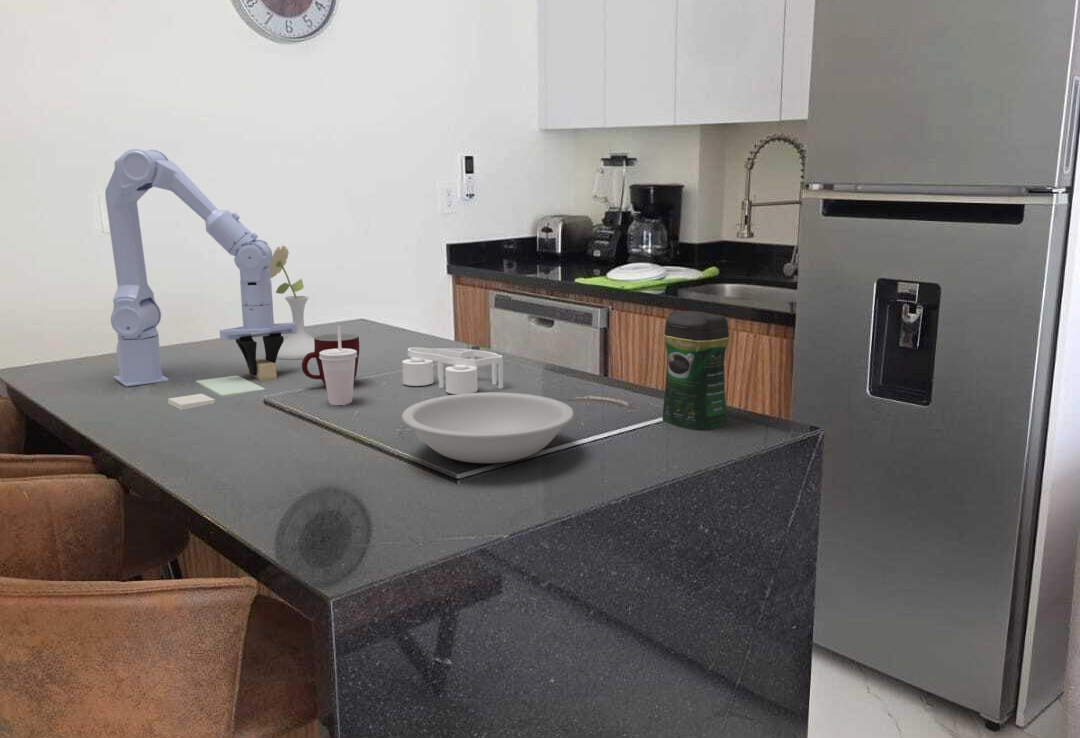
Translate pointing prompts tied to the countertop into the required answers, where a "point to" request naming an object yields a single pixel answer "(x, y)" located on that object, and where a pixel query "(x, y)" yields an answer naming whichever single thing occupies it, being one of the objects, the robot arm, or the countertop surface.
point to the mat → (230, 386)
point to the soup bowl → (488, 425)
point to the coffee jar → (695, 370)
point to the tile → (190, 401)
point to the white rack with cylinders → (450, 368)
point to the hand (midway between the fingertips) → (261, 373)
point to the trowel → (264, 370)
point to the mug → (330, 343)
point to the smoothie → (339, 372)
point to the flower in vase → (300, 341)
